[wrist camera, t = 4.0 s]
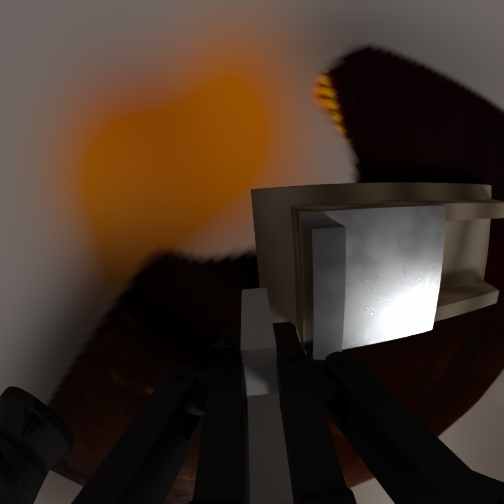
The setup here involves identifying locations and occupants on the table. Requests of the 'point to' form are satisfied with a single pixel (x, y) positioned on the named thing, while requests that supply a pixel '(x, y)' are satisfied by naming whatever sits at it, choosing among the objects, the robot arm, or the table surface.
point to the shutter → (369, 274)
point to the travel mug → (267, 452)
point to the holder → (372, 195)
